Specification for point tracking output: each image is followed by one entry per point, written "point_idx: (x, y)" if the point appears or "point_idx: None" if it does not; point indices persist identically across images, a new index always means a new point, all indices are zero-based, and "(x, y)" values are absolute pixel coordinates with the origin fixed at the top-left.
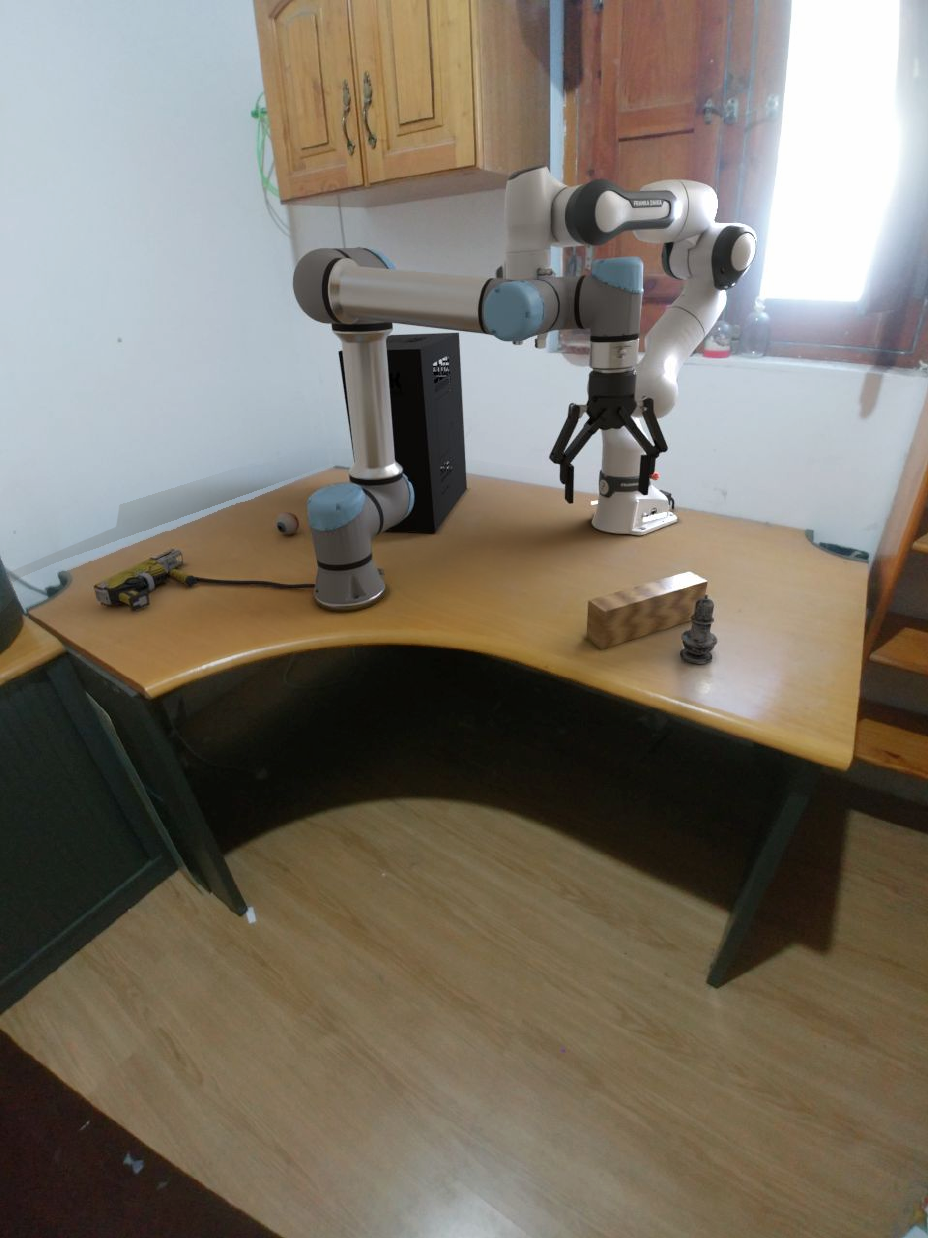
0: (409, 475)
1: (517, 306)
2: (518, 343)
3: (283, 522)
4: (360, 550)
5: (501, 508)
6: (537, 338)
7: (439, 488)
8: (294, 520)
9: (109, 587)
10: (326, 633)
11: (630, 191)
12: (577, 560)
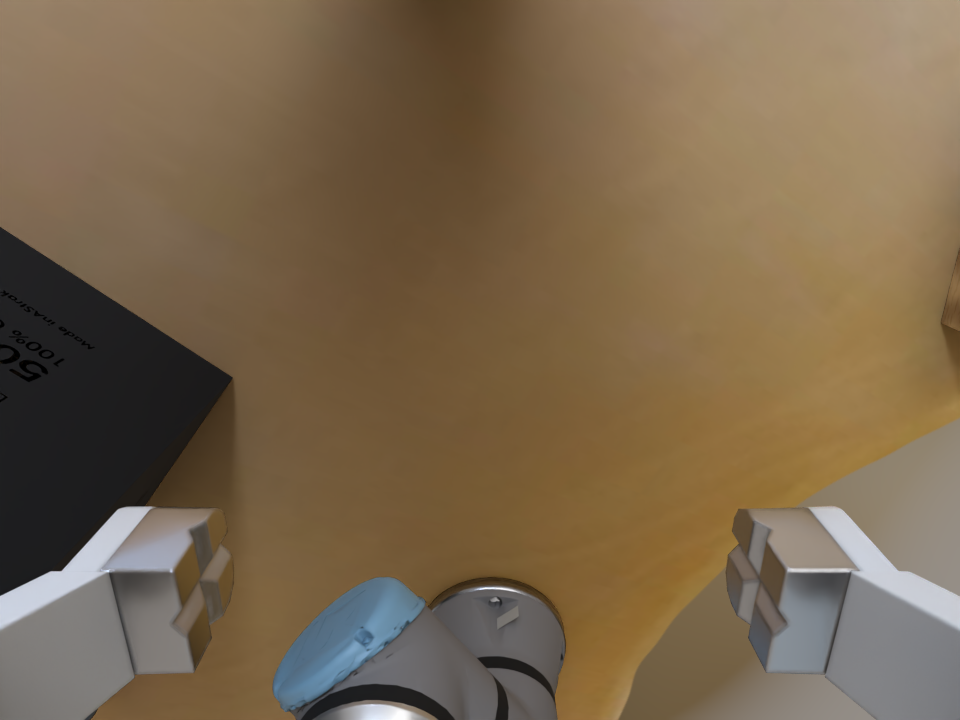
0: None
1: None
2: (222, 562)
3: (85, 718)
4: (554, 717)
5: (89, 88)
6: (851, 681)
7: (101, 374)
8: None
9: None
10: (611, 696)
11: None
12: (620, 107)
